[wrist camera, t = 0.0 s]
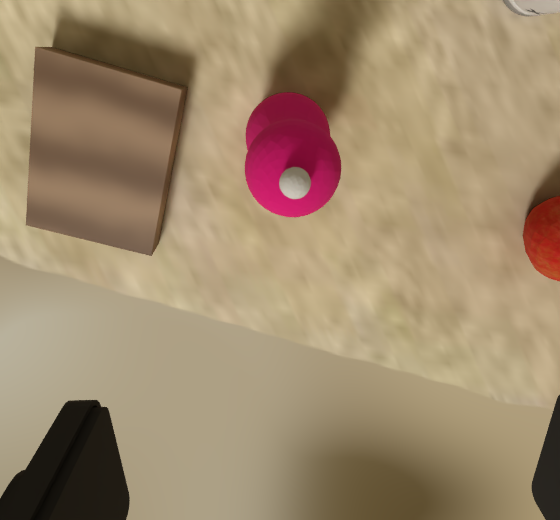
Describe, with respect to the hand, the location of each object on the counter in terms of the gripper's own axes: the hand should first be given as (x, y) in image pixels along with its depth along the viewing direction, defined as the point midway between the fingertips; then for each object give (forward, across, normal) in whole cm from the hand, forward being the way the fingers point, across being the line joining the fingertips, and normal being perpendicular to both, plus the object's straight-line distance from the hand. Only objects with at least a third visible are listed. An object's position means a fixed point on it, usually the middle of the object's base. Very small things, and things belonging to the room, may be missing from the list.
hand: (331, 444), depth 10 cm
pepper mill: (+37, 0, -1) cm, 37 cm away
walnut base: (+37, +17, +1) cm, 40 cm away
